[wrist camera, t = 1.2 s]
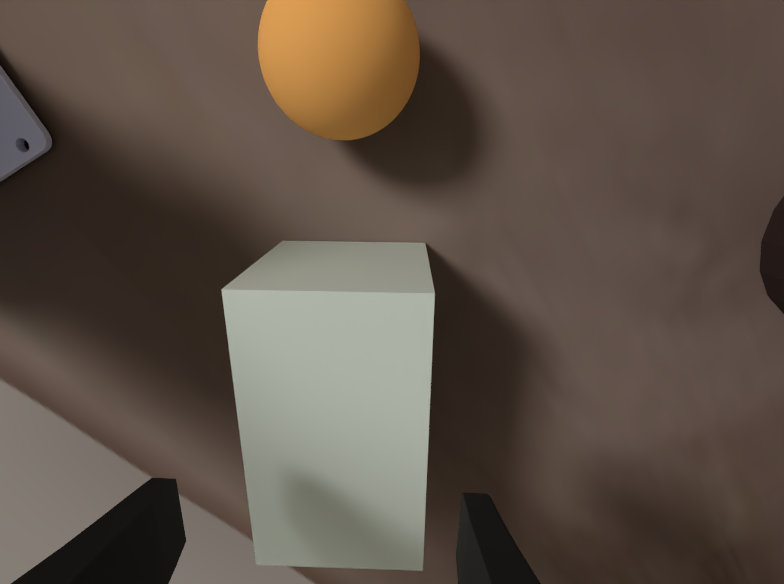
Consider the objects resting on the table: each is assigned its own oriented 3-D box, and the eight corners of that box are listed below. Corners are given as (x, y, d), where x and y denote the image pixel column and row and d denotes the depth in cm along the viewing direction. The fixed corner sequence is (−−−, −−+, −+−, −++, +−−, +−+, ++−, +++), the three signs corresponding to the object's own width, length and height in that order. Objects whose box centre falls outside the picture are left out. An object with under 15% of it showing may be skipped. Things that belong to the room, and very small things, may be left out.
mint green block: (418, 450, 22) (422, 570, 15) (298, 446, 22) (256, 564, 16) (425, 242, 18) (434, 293, 12) (282, 240, 18) (221, 289, 12)
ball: (326, 164, 17) (296, 172, 12) (256, 37, 16) (193, -8, 11) (440, 100, 16) (454, 83, 12) (378, -40, 15) (364, -125, 10)
